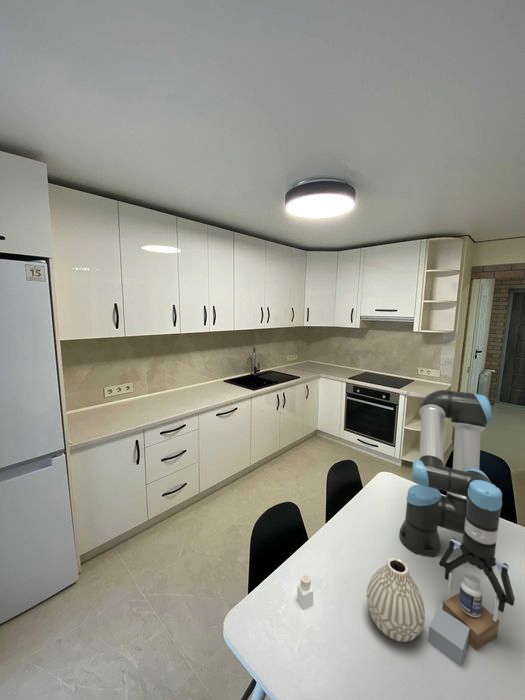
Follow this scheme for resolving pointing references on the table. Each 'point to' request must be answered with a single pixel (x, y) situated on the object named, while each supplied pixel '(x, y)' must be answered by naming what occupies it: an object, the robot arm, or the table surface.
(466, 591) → the pill bottle
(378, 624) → the vase
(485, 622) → the walnut block
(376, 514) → the table surface
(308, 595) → the pepper shaker
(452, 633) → the slate block
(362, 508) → the table surface
